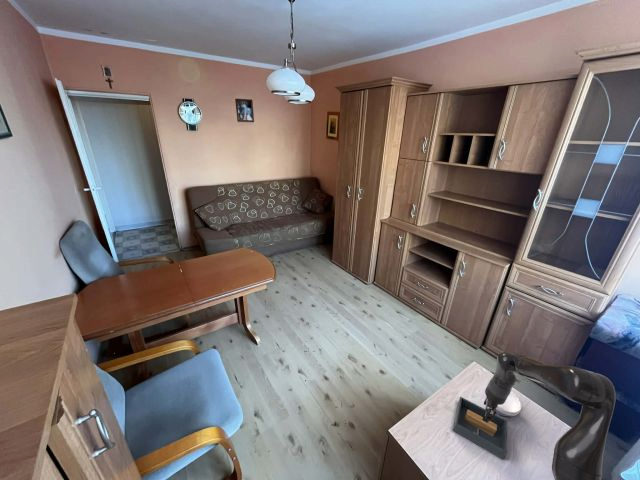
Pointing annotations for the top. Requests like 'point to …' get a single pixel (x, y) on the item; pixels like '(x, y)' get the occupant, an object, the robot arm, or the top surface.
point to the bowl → (509, 406)
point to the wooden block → (480, 423)
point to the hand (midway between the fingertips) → (485, 412)
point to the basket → (484, 440)
